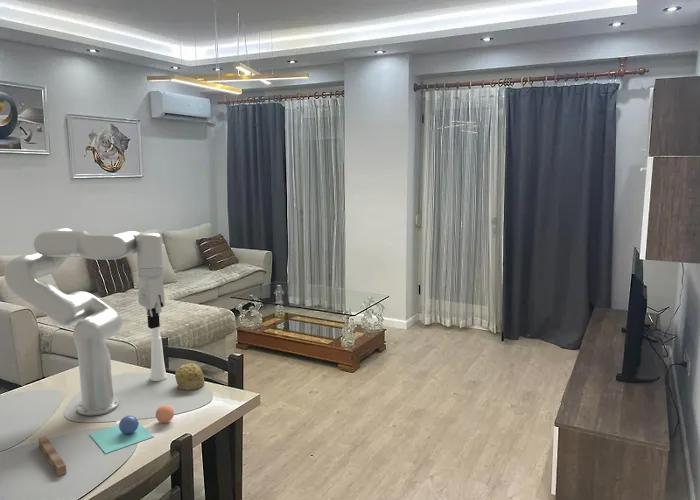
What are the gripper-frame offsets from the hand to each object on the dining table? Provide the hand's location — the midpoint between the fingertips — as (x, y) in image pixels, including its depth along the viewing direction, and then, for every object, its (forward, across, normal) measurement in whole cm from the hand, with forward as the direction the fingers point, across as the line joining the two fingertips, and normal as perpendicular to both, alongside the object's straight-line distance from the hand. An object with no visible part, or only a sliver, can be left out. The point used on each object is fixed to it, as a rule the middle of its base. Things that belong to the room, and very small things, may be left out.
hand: (153, 327), depth 173 cm
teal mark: (+29, +8, -15) cm, 34 cm away
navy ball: (+26, +8, -13) cm, 30 cm away
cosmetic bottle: (+29, -26, +11) cm, 41 cm away
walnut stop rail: (+29, +8, -34) cm, 45 cm away
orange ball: (+26, +8, -2) cm, 28 cm away
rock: (+29, -12, +17) cm, 36 cm away
